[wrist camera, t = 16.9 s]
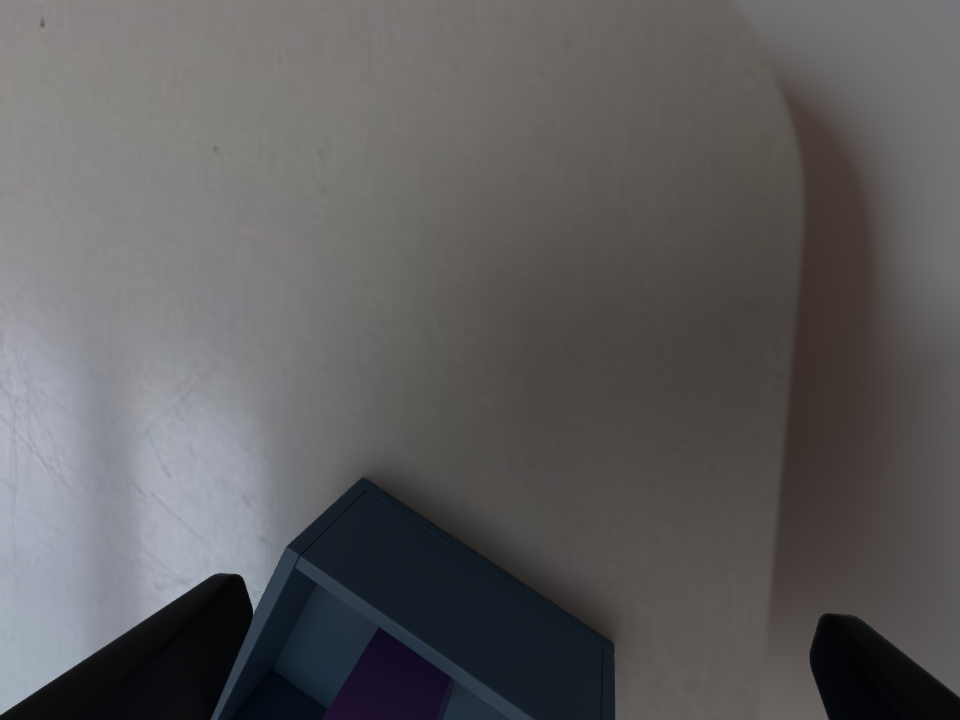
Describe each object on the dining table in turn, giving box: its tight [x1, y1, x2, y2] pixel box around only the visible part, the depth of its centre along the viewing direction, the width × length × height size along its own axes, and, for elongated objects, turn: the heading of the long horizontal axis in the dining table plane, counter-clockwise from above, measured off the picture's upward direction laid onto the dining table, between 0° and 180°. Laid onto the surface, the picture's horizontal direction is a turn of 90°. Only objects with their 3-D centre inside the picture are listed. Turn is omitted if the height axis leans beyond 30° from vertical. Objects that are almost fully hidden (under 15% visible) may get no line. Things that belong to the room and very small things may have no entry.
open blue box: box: [211, 478, 615, 720], centre depth 21 cm, size 13×13×6 cm
